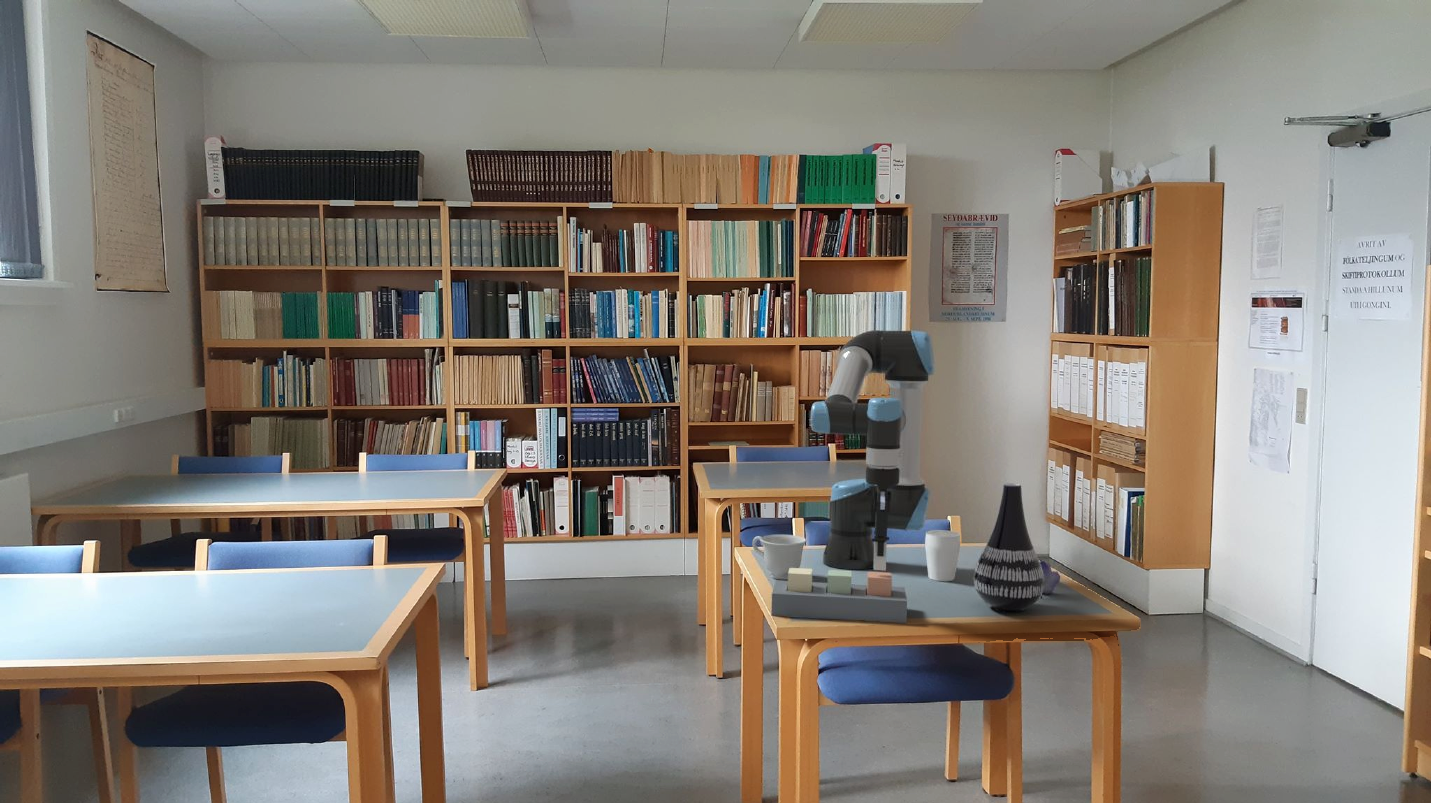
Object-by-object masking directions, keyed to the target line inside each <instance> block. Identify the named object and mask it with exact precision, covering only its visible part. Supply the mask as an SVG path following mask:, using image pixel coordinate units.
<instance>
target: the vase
mask: <svg viewBox="0 0 1431 803" xmlns="http://www.w3.org/2000/svg"><path fill="white" fill-rule="evenodd" d="M1001 495H1002V496H1001V501H1000V504H999V509H998V513H997V517H996V521H995V524H994V527H993V530H992V532H991V534H990V536H989V539H988V541H987V543H986V544H985V546H984V549H983V551H982V552H981V554H980V556H979V558H978V560H977V563H976V565H975V568H974V571H973V585H974V589H975V591H976V593H977V594H978V596H979V597H980V599H981V600H983V602H985V603H986V604H987V605H989V606H990V607H992V608H993V610H995V611H998V612H1002V613H1010V614H1011V613H1014V614H1015V613H1020V612H1023V610H1026V609H1027V608H1030V607H1032V606H1033V605H1034V604H1035V603H1037V602H1038V601H1039V600H1040V599H1041V598H1040V596H1041V595H1042V596H1043V590H1044V574H1043V570H1042V567H1041V564H1040V559H1039V558H1038V555H1037V553H1036V550H1035V548H1034V545H1033V543H1032V540H1031V537H1030V535H1029V531H1028V527H1027V523H1026V517H1025V512H1024V504H1023V494H1022V485H1021V484H1019V483H1009V482H1008V483H1006V482H1005V483H1004V484H1003V489H1002V494H1001Z"/></svg>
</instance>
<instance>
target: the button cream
mask: <svg viewBox="0 0 1431 803" xmlns="http://www.w3.org/2000/svg"><path fill="white" fill-rule="evenodd" d="M787 581H788V591H798V592H812V582H813V568H801V567H799V568H789V572H788V579H787Z"/></svg>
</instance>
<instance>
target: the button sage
mask: <svg viewBox="0 0 1431 803" xmlns="http://www.w3.org/2000/svg"><path fill="white" fill-rule="evenodd" d="M827 583H828V587H827V593H835V594H851V584H852V571H851V570H843V569H842V570H841V569H840V570H839V569H828V572H827Z"/></svg>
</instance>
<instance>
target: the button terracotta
mask: <svg viewBox="0 0 1431 803" xmlns="http://www.w3.org/2000/svg"><path fill="white" fill-rule="evenodd" d="M866 576H867V584H866V585H867V595H871V596H890V597H891V587H892V583H893V582H892V580H893V577H892V573H891V572H879V571H867V574H866Z"/></svg>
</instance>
